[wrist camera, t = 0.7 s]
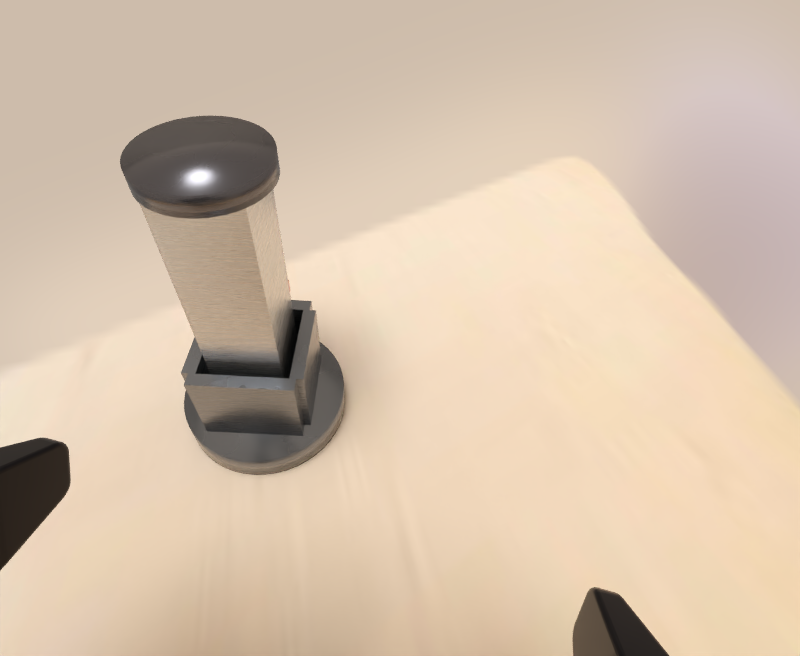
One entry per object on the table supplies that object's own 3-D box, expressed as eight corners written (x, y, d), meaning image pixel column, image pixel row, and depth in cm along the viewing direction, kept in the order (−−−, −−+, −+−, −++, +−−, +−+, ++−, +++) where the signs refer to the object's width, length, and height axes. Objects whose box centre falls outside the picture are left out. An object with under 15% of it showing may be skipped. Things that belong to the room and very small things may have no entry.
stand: (336, 478, 24) (330, 419, 20) (171, 470, 24) (128, 409, 19) (350, 349, 29) (348, 280, 25) (215, 341, 29) (189, 271, 25)
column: (303, 427, 24) (260, 200, 14) (207, 422, 24) (93, 190, 14) (316, 351, 27) (288, 120, 17) (230, 347, 26) (151, 111, 17)
